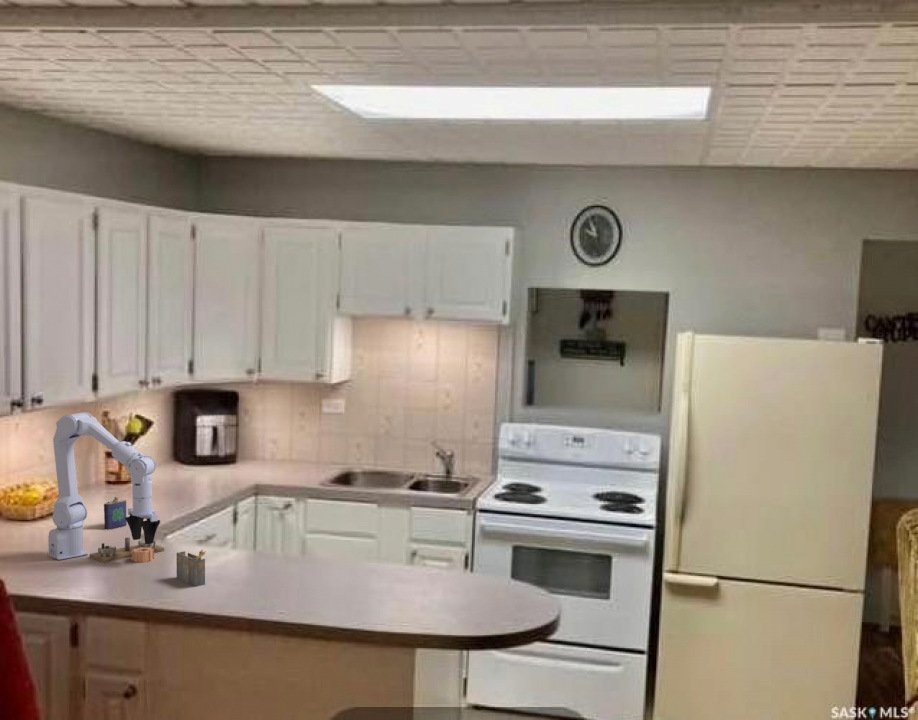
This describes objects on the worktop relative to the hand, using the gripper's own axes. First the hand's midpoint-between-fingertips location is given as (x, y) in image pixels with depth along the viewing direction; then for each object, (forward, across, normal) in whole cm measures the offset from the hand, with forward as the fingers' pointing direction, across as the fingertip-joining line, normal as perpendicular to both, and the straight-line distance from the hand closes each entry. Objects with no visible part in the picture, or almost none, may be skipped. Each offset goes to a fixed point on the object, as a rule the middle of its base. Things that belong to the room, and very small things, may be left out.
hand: (142, 541), depth 288 cm
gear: (+6, 0, 0) cm, 6 cm away
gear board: (+6, +10, 0) cm, 11 cm away
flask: (+6, +47, -15) cm, 49 cm away
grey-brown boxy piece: (+6, -30, +2) cm, 31 cm away
